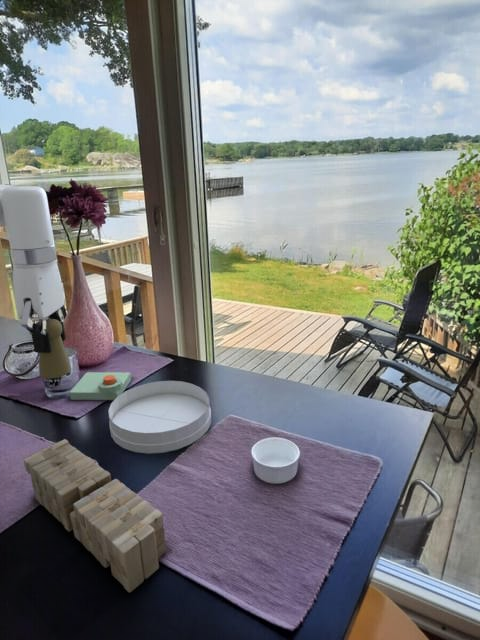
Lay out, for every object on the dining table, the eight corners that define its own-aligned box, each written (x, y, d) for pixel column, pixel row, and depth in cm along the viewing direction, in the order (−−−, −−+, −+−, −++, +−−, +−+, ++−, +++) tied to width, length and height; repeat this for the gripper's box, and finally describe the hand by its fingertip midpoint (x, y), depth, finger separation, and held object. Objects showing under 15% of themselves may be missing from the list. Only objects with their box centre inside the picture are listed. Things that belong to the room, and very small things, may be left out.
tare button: (102, 385, 108) (101, 380, 107) (106, 380, 110) (105, 374, 110) (113, 385, 108) (112, 380, 107) (117, 380, 110) (116, 374, 110)
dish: (144, 392, 111) (142, 375, 109) (226, 406, 104) (225, 387, 102) (88, 443, 92) (85, 423, 90) (184, 464, 84) (182, 442, 83)
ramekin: (244, 462, 84) (244, 443, 83) (286, 451, 87) (286, 432, 86) (263, 492, 77) (263, 472, 75) (308, 479, 80) (308, 459, 78)
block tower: (173, 562, 65) (72, 472, 83) (170, 518, 62) (66, 435, 80) (128, 601, 59) (30, 495, 77) (122, 554, 56) (22, 456, 74)
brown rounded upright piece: (77, 369, 91) (69, 318, 87) (52, 381, 86) (42, 328, 82) (58, 362, 94) (50, 313, 90) (33, 374, 89) (22, 323, 85)
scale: (70, 401, 108) (67, 387, 107) (88, 380, 119) (85, 366, 117) (119, 402, 107) (117, 387, 106) (132, 380, 118) (131, 366, 117)
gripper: (38, 247, 90) (53, 330, 96) (-13, 266, 74) (8, 364, 80) (74, 247, 89) (86, 330, 95) (29, 266, 73) (48, 365, 79)
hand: (50, 345), depth 88 cm, fingers closed on brown rounded upright piece, 5 cm apart
